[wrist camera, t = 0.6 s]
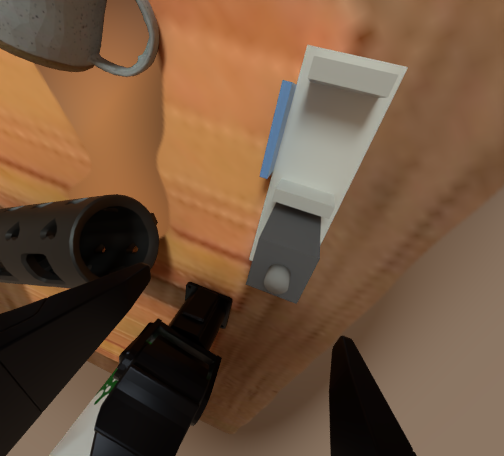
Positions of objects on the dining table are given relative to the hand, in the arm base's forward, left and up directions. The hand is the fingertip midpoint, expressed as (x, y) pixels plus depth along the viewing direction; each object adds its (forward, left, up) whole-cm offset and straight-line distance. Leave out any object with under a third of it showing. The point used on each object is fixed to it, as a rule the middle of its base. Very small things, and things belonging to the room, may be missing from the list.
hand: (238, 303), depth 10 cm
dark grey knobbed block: (-2, -2, -11) cm, 12 cm away
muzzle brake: (-12, +25, -12) cm, 31 cm away
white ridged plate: (+2, -2, -12) cm, 12 cm away
